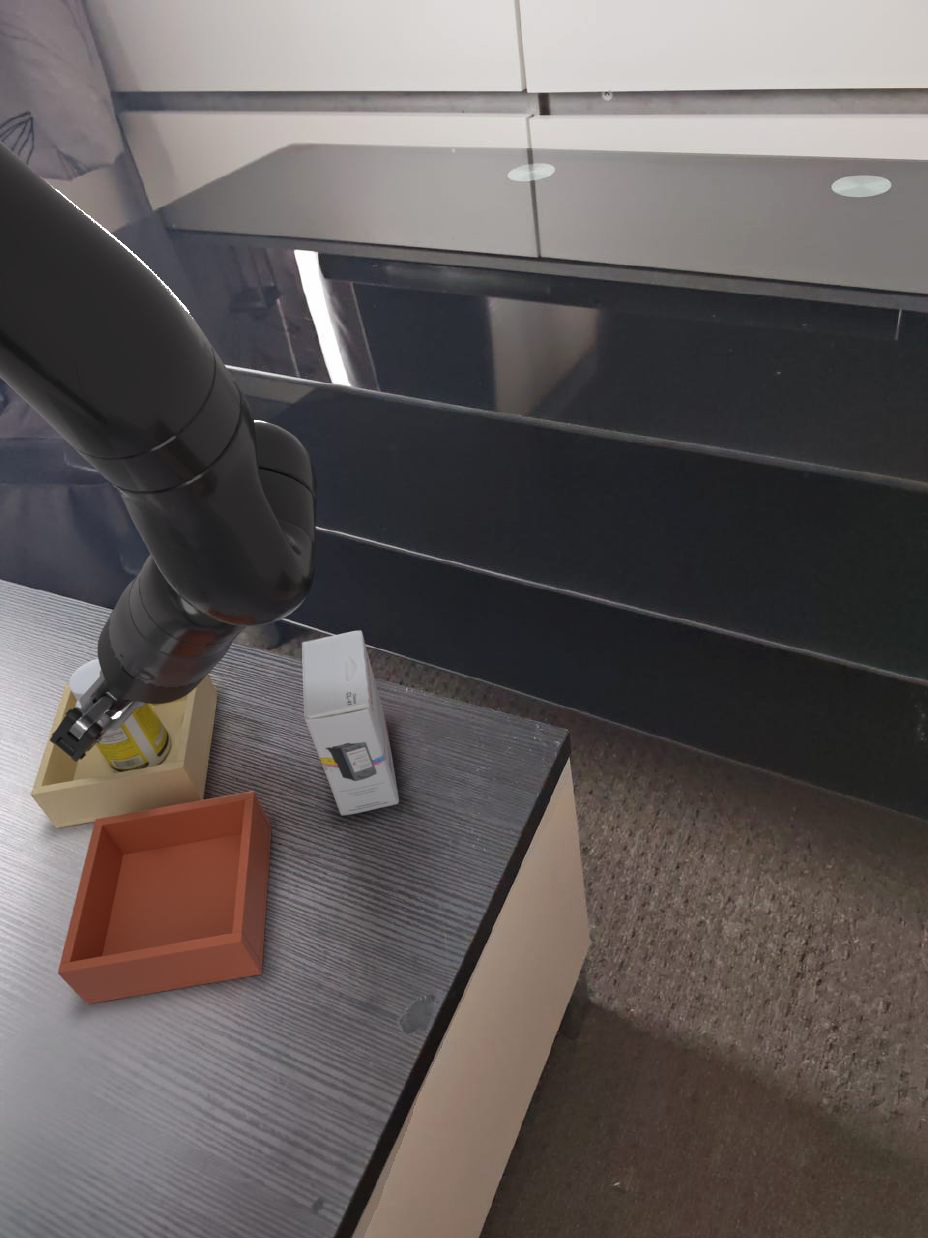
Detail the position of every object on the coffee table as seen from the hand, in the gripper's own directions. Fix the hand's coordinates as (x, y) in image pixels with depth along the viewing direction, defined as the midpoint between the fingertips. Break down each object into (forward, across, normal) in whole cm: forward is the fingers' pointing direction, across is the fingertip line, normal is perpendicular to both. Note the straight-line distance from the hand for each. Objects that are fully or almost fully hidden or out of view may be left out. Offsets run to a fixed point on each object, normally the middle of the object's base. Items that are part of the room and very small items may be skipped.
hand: (118, 701), depth 74 cm
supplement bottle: (+7, 0, +4) cm, 8 cm away
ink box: (-7, -7, +19) cm, 21 cm away
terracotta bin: (-3, +10, +14) cm, 17 cm away
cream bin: (+7, 0, +4) cm, 8 cm away
